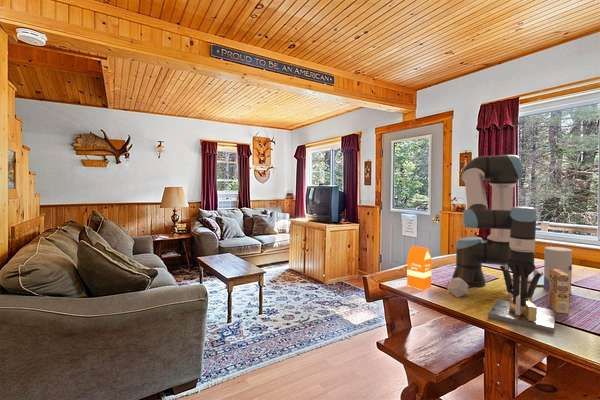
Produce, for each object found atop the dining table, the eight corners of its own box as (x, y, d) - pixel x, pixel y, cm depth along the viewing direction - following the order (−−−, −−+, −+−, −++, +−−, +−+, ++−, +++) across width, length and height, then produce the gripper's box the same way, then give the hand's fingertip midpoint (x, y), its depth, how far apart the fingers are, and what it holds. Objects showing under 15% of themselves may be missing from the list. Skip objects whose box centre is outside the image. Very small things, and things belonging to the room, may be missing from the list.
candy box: (569, 314, 119) (570, 275, 119) (556, 312, 121) (556, 274, 120) (559, 306, 128) (560, 269, 127) (547, 304, 129) (548, 268, 129)
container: (576, 294, 141) (577, 250, 140) (551, 293, 143) (552, 250, 142) (562, 287, 151) (563, 246, 150) (539, 286, 153) (540, 246, 152)
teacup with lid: (531, 303, 131) (532, 276, 130) (506, 298, 137) (506, 272, 136) (534, 296, 139) (535, 270, 139) (510, 291, 146) (511, 267, 145)
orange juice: (423, 290, 148) (424, 249, 147) (406, 286, 155) (406, 246, 154) (431, 287, 153) (431, 247, 152) (414, 283, 160) (414, 244, 159)
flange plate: (488, 318, 116) (488, 297, 116) (497, 303, 131) (497, 284, 130) (553, 333, 104) (554, 310, 104) (555, 315, 118) (556, 294, 118)
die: (456, 292, 147) (444, 276, 147) (474, 287, 142) (461, 270, 142) (454, 303, 141) (441, 287, 141) (472, 298, 135) (459, 281, 135)
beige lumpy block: (506, 306, 122) (506, 293, 122) (530, 308, 120) (530, 295, 120) (519, 319, 110) (519, 305, 110) (546, 322, 107) (546, 308, 107)
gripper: (497, 247, 114) (494, 310, 115) (539, 254, 104) (536, 323, 105) (506, 245, 118) (503, 305, 120) (547, 251, 108) (544, 317, 109)
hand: (518, 313), depth 112 cm, fingers closed
